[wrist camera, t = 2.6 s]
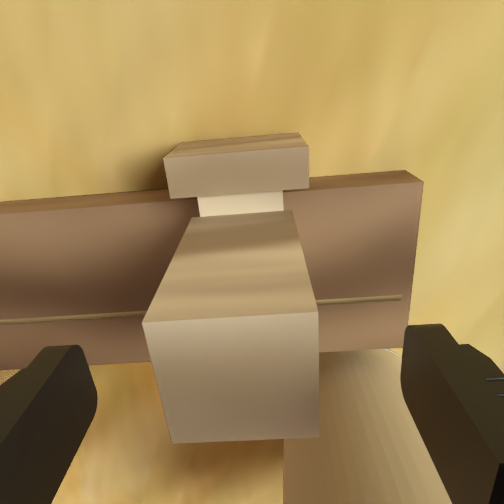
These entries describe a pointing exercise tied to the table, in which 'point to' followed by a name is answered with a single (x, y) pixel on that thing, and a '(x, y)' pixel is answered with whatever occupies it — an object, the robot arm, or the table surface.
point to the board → (164, 247)
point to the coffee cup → (361, 439)
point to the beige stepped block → (237, 298)
